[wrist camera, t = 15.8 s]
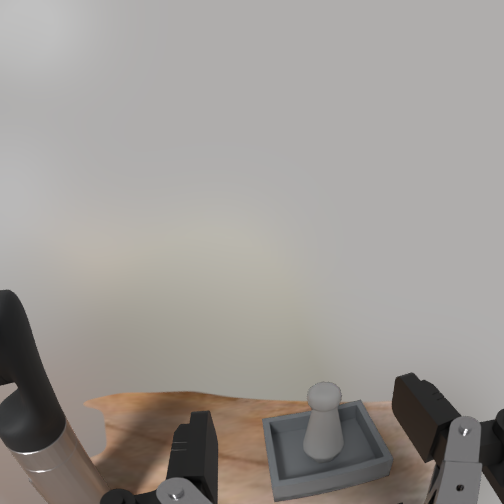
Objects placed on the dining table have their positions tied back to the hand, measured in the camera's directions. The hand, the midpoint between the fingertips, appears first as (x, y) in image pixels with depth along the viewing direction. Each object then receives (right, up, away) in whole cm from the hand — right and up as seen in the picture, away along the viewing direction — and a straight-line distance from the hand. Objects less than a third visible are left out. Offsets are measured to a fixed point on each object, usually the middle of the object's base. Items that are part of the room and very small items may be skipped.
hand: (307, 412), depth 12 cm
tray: (+8, -24, +28) cm, 37 cm away
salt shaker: (+8, -23, +27) cm, 36 cm away
